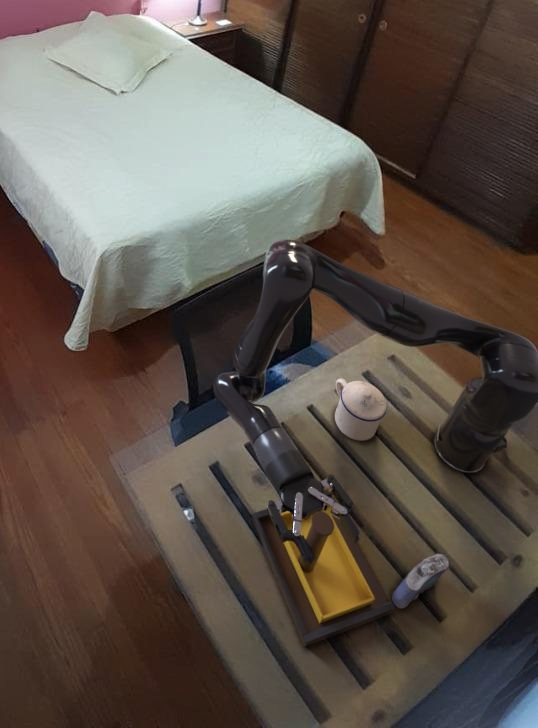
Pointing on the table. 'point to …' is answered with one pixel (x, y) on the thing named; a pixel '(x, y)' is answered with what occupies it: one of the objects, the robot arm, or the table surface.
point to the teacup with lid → (359, 409)
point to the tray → (328, 569)
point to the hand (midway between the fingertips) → (335, 551)
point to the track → (296, 593)
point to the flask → (420, 579)
